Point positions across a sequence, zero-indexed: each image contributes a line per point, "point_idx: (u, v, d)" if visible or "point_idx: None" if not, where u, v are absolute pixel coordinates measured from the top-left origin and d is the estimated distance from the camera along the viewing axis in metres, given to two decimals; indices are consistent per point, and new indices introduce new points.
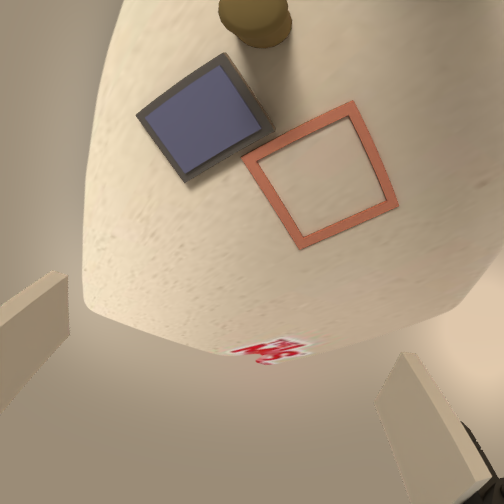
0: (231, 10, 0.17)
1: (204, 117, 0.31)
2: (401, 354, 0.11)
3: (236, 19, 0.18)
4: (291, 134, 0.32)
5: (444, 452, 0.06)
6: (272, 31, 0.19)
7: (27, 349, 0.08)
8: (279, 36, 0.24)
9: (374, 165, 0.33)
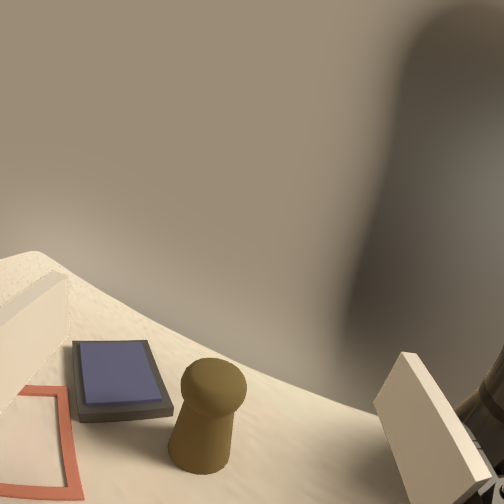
0: (214, 360, 0.24)
1: (118, 372, 0.31)
2: (401, 354, 0.11)
3: (204, 361, 0.24)
4: (67, 429, 0.22)
5: (444, 452, 0.06)
6: (185, 387, 0.22)
7: (27, 349, 0.08)
8: (178, 442, 0.23)
9: None
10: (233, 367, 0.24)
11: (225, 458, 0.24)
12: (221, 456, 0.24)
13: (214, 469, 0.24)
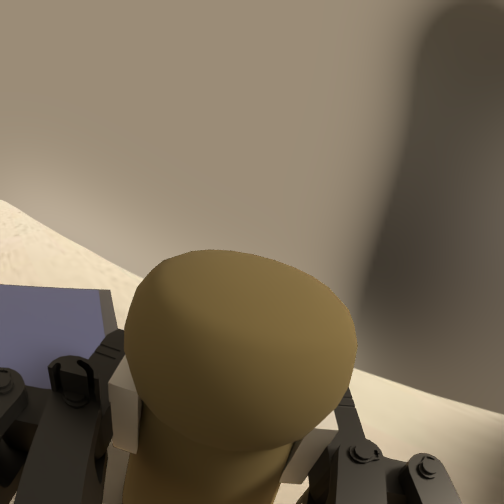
0: (244, 253, 0.08)
1: (41, 333, 0.14)
2: None
3: (212, 251, 0.08)
4: None
5: None
6: (134, 329, 0.05)
7: None
8: (136, 502, 0.07)
9: None
10: (306, 274, 0.08)
11: None
12: None
13: None
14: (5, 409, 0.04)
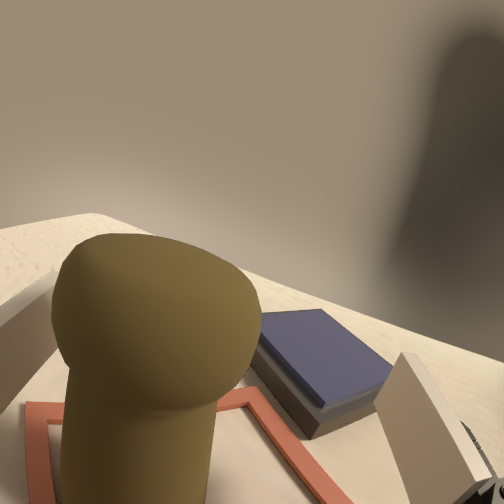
0: None
1: (329, 350, 0.22)
2: (401, 354, 0.11)
3: None
4: (306, 458, 0.14)
5: (444, 452, 0.06)
6: (57, 279, 0.06)
7: (27, 349, 0.08)
8: (63, 475, 0.07)
9: None
10: (223, 260, 0.08)
11: None
12: None
13: None
14: None
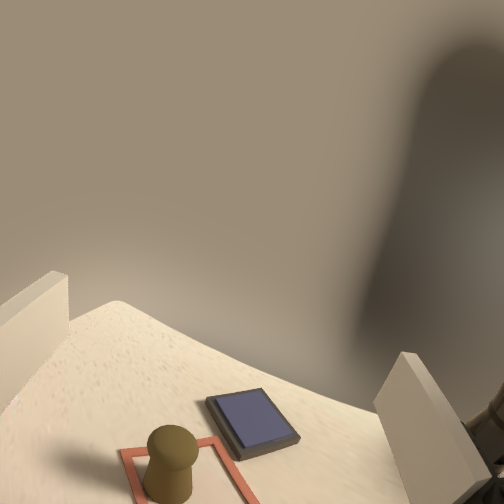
0: (176, 429, 0.27)
1: (256, 418, 0.42)
2: (401, 354, 0.11)
3: (167, 428, 0.27)
4: (234, 469, 0.34)
5: (444, 452, 0.06)
6: (148, 445, 0.25)
7: (27, 349, 0.08)
8: (147, 478, 0.27)
9: None
10: (189, 437, 0.27)
11: (184, 497, 0.27)
12: (179, 495, 0.26)
13: (174, 503, 0.26)
14: None
